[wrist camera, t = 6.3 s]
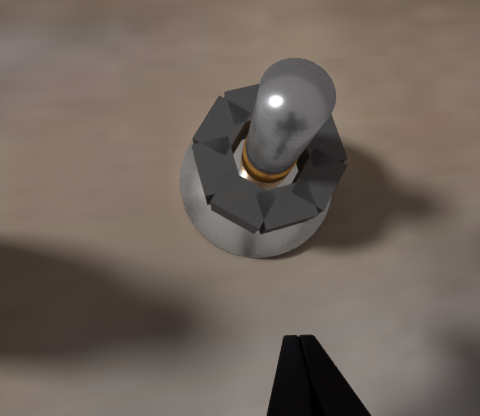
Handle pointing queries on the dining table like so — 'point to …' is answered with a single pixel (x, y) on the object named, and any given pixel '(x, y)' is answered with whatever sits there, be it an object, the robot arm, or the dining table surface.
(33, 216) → the dining table surface
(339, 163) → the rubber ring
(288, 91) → the pipe stand
